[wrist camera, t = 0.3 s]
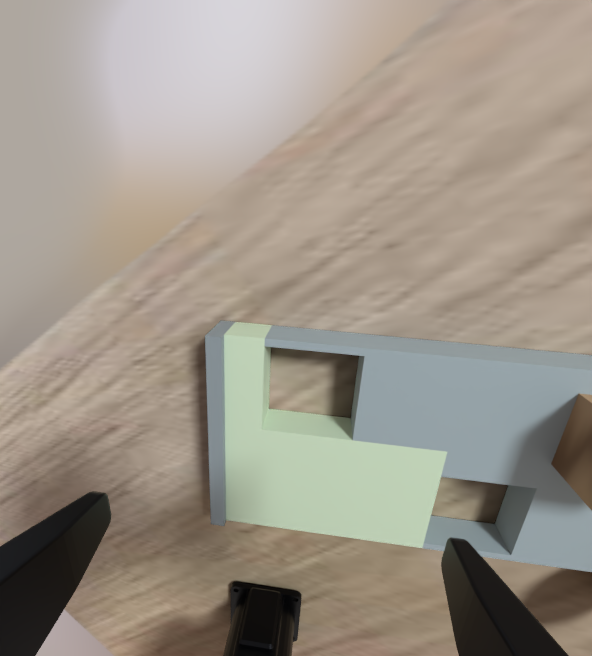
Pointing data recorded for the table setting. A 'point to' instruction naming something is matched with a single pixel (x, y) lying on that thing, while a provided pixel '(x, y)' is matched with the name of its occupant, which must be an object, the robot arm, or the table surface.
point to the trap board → (399, 442)
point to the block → (577, 450)
